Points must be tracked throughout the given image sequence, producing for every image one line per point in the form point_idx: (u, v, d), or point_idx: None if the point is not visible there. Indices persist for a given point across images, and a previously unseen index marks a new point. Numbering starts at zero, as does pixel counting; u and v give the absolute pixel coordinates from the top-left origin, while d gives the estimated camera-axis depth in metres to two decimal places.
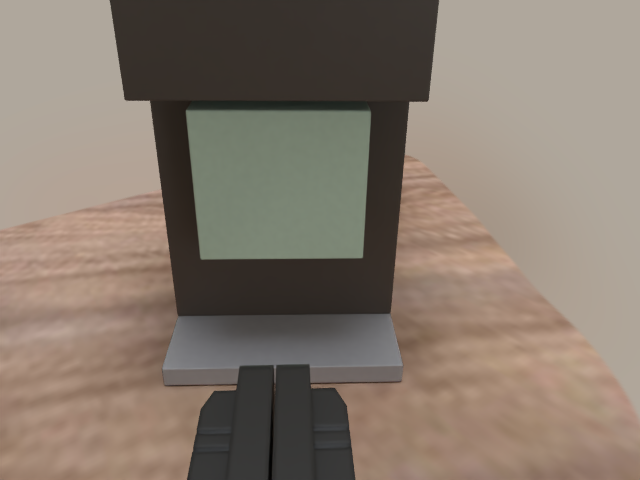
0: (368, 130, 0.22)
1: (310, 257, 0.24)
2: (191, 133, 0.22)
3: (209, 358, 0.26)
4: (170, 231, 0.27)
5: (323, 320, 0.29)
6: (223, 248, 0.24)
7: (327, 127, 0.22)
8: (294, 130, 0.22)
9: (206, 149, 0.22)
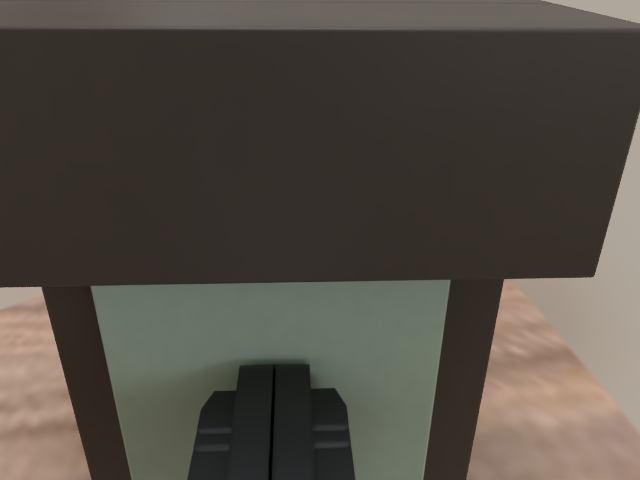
0: (445, 298, 0.11)
1: None
2: (101, 310, 0.11)
3: None
4: (87, 438, 0.15)
5: None
6: None
7: (367, 294, 0.11)
8: (303, 301, 0.11)
9: (133, 335, 0.11)
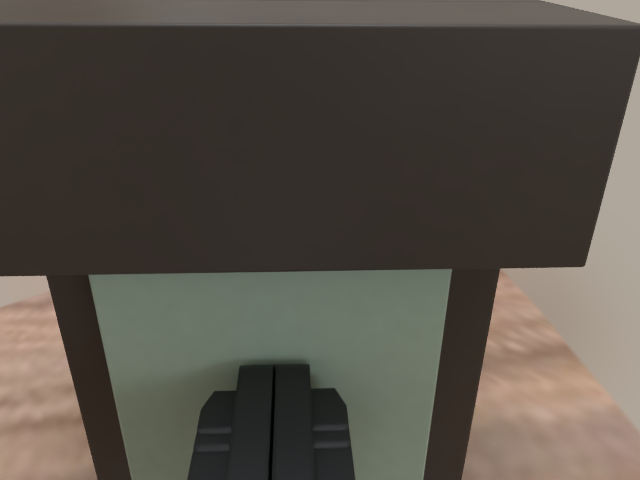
0: (445, 298, 0.11)
1: None
2: (101, 310, 0.11)
3: None
4: (91, 429, 0.16)
5: None
6: None
7: (367, 294, 0.11)
8: (303, 301, 0.11)
9: (133, 335, 0.11)
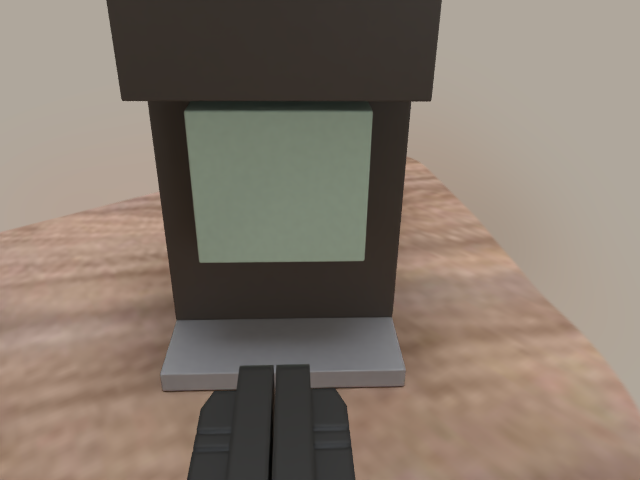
0: (370, 131, 0.21)
1: (311, 260, 0.24)
2: (189, 134, 0.21)
3: (208, 363, 0.26)
4: (169, 234, 0.26)
5: (324, 324, 0.29)
6: (222, 251, 0.24)
7: (328, 128, 0.21)
8: (294, 131, 0.21)
9: (205, 150, 0.22)
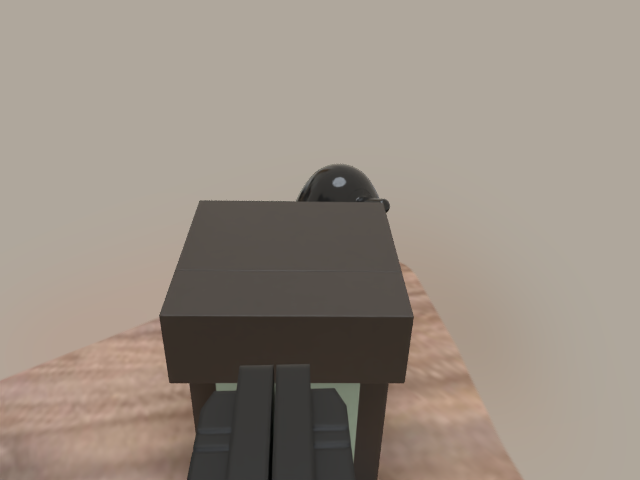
0: (358, 393, 0.28)
1: None
2: None
3: None
4: None
5: None
6: None
7: None
8: None
9: None
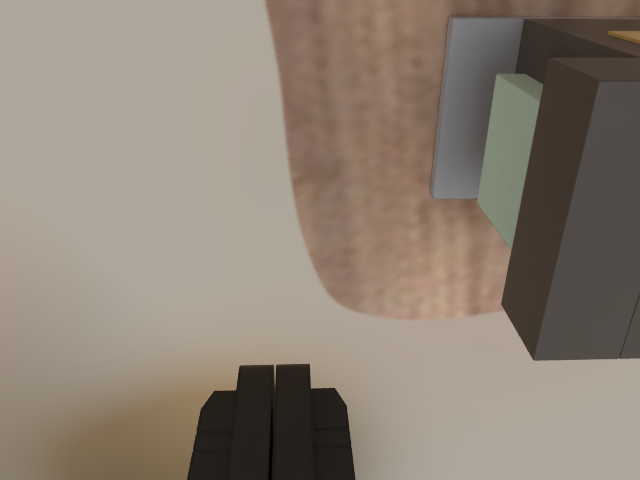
0: None
1: None
2: (538, 105, 0.23)
3: (459, 56, 0.33)
4: (559, 35, 0.27)
5: None
6: (496, 97, 0.28)
7: None
8: None
9: (530, 113, 0.24)
